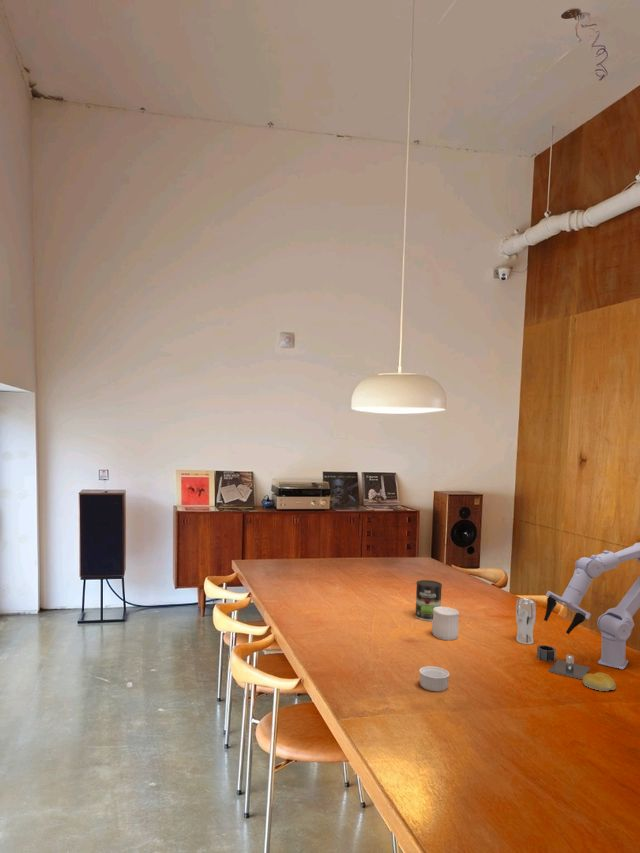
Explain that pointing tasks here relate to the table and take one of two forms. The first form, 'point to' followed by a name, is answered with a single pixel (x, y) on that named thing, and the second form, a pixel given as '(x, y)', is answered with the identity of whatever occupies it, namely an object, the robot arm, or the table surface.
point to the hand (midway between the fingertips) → (556, 626)
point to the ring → (546, 653)
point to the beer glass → (525, 620)
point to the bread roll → (599, 681)
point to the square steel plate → (569, 668)
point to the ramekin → (434, 678)
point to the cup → (445, 623)
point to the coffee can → (427, 599)
